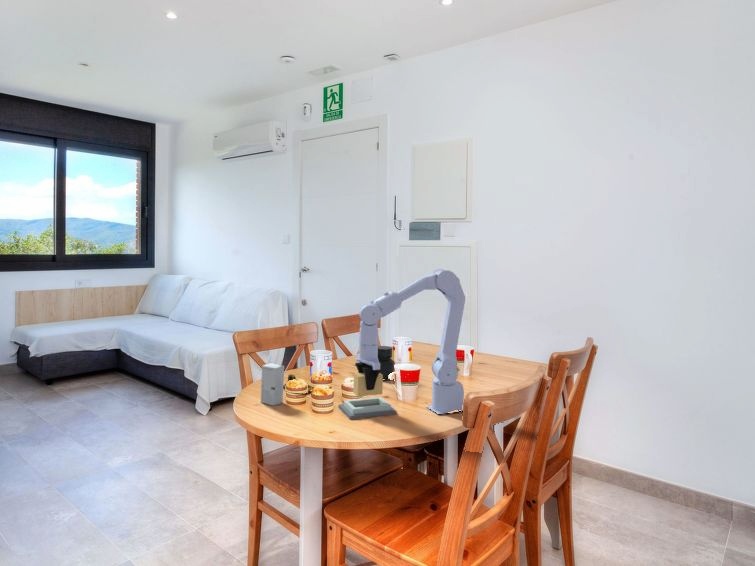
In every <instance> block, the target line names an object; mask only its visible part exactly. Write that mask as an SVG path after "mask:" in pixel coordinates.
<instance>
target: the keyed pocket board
mask: <svg viewBox="0 0 755 566" xmlns="http://www.w3.org/2000/svg"><path fill="white" fill-rule="evenodd" d="M337 406H338V409H339V410H340V411H341V413H343V415H345V416H346V417H347V418H348V419H349V420H357V419H363V418H364V419H365V418H375V417H382V416H389V415H390V414H392V415H397V410H396V409H395V408H394V407H392V404H391V403H390V402H388V401H386V400H385V399H384V398H382V397H380V396H377V397H367V398H357V399H350V400H349V399H348V400H347V399H346V400H343V404H341V403H340V404H337ZM390 416H391V415H390Z"/></svg>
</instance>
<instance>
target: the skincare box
mask: <svg viewBox="0 0 755 566" xmlns="http://www.w3.org/2000/svg"><path fill="white" fill-rule="evenodd" d="M284 376H285V366H284V365H281V364H277V363H273V362H272V363H271V362H270V363H266V364H264V365H262V366H261V385H260V386H261V387H260V403H263V404H266V405H269V406H278V405H280V404H282V403H283V402H284V401H283V400H284V399H283V398H284V389H283V386H284V380H285V379H284V378H285V377H284Z"/></svg>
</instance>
